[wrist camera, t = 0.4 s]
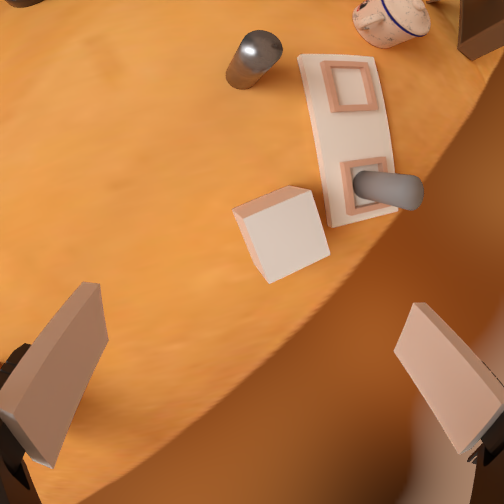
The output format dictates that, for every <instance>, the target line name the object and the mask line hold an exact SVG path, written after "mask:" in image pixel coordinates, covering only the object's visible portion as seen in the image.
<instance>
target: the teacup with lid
mask: <svg viewBox="0 0 504 504" xmlns="http://www.w3.org/2000/svg"><path fill="white" fill-rule="evenodd" d="M353 22H354V25H355V27H356V29H357V31H358V32H359V34H360V35H361V36H362V37H363V38H364V39H365V40H366V41H367V42H369V43H370V44H372V45H374V46H376V47H379V48H390V47H392V46H395V45H397V44H399V43H402V42H404V41H407V40H410V39H412V38H415V37H422V36H425V35H426V34H427V33H428V32H429V30H430V25H431V23H430V17H429V14H428V12H427V10H426V8H425V5H424V3H423V1H422V0H366V1H364V2H363V3H361V4H360V5H359V6H357V7H356V8H355V9H354V11H353Z"/></svg>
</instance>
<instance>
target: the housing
mask: <svg viewBox="0 0 504 504" xmlns="http://www.w3.org/2000/svg"><path fill="white" fill-rule="evenodd" d="M232 211H233V214H234V216H235V219H236V221H237V223H238V226H239V228H240V231H241V233H242V236H243V238H244V241H245V243H246V245H247V248H248V250H249V253H250V255H251V258H252V260H253V262H254V265H255V266H256V267H257V269H258V270H259V271H260V273H261V274H262V275H263V277H264V278H265V279H266V281H267V282H268V283H269V284H270V283H272V282H275V281H277V280H279V279H281V278H283V277H285V276H287V275H289V274H292V273H294V272H296V271H298V270H300V269H302V268H304V267H306V266H308V265H310V264H312V263H314V262H316V261H319V260H321V259H323V258H325V257H327V256H329V255H331V254H330V251H329V247H328V244H327V240H326V237H325V233H324V230H323V227H322V223H321V220H320V217H319V214H318V211H317V207H316V204H315V201H314V198H313V195H312V192H311V190H308V189H304V188H299V187H294V186H289V185H288V186H286V187H283V188H281V189H278V190H276V191H274V192H271V193H269V194H266V195H264V196H261V197H259V198H257V199H254V200H252V201H250V202H247V203H245V204H243V205H240V206H238V207H236V208H233V209H232Z"/></svg>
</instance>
